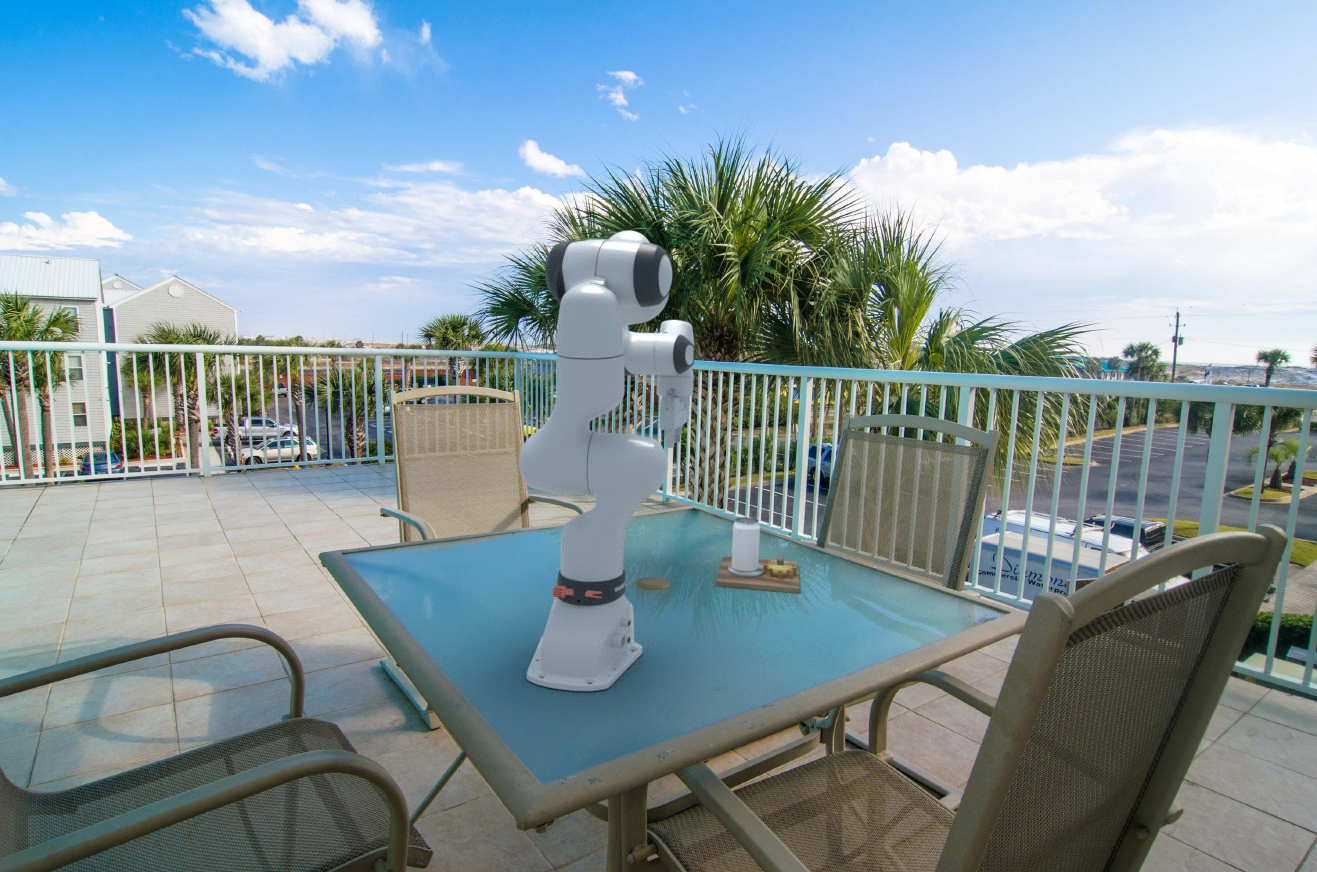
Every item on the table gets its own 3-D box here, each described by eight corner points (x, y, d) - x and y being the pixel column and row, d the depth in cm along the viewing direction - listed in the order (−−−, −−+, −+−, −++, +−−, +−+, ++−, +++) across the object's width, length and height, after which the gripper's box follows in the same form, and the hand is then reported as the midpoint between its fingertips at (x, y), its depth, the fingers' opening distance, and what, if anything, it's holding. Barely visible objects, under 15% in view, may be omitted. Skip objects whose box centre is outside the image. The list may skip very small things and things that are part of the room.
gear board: (799, 593, 146) (800, 569, 145) (715, 585, 149) (716, 562, 149) (797, 566, 165) (798, 545, 165) (723, 560, 169) (724, 539, 168)
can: (759, 565, 159) (761, 517, 157) (757, 573, 153) (759, 524, 151) (733, 562, 160) (734, 515, 159) (729, 570, 154) (731, 521, 153)
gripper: (681, 390, 145) (679, 451, 147) (693, 387, 165) (691, 440, 167) (653, 389, 147) (652, 449, 148) (669, 386, 167) (668, 439, 168)
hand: (673, 445), depth 158 cm, fingers open, 8 cm apart
